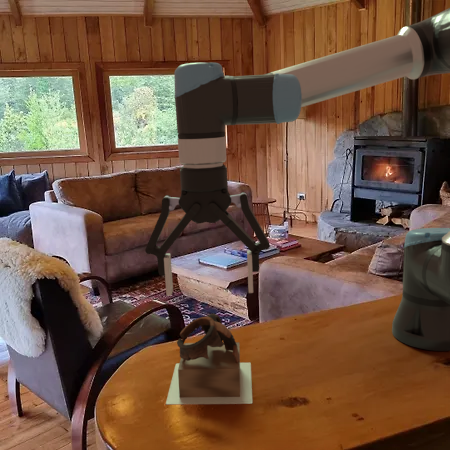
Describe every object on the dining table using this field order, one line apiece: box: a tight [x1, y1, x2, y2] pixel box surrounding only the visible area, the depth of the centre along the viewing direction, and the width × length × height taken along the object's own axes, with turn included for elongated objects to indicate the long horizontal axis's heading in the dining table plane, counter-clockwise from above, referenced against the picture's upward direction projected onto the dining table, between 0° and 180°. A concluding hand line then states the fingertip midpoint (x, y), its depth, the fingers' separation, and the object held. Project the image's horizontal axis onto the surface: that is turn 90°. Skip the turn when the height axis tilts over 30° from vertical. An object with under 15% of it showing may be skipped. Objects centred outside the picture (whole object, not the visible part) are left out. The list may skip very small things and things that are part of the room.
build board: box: [165, 362, 253, 405], centre depth 91 cm, size 14×14×2 cm
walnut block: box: [178, 341, 241, 397], centre depth 91 cm, size 10×10×5 cm
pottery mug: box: [176, 313, 241, 363], centre depth 89 cm, size 12×10×8 cm
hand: (210, 291), depth 88 cm, fingers open, 13 cm apart
